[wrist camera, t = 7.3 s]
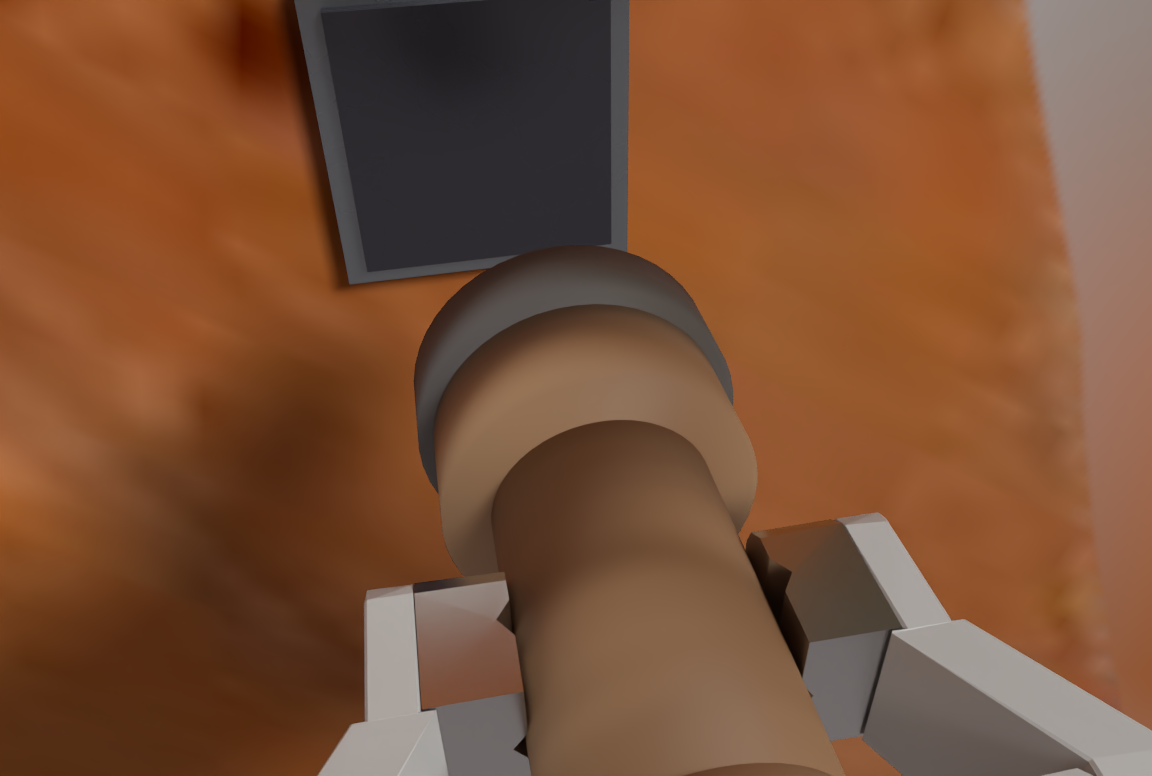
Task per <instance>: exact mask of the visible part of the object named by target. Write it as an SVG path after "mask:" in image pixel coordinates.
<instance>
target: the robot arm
mask: <svg viewBox="0 0 1152 776" xmlns="http://www.w3.org/2000/svg"><path fill="white" fill-rule="evenodd" d="M745 551H746V553H747V555H748V558H749V560H750V562H751V564H752V567H753V569H754V571H755V573H756V576H757V578H758V580H759V582H760V585H761V587H762V589H763V591H764V594H765V596H766V598H767V600H768V603H769V605H770V607H771V609H772V612H773V614H774V616H775V618H776V621H777V623H778V625H779V627H780V629H781V632H782V634H783V636H784V638H785V641H786V643H787V645H788V647H789V650H790V652H791V654H792V656H793V659H794V661H795V663H796V665H797V668H798V670H799V672H800V674H801V677H802V679H803V681H804V683H805V686H806V688H807V690H808V692H809V695H810V697H811V699H812V701H813V704H814V706H815V708H816V710H817V713H818V715H819V717H820V719H821V722H822V724H823V726H824V728H825V731H826V733H827V735H828V737H829V740H830V741H833V740H839V739H846V738H852V737H858V736H863V738H862V740H863V741H864V742H865V743H866V744H868V745H869V746H870V747H871V748H872V749H873V750H874V751H876V752H877V753H878V754H879V755H880V756H881V757H882V758H884V759H885V760H886V761H887V762H888V763H889V764H890V765H892V766H893V767H894V768H895V769H896V770H897V771H898V772H900V773H901V774H902V775H903V776H1152V731H1151V730H1149V729H1148V728H1146V727H1144V726H1143V725H1141V724H1139V723H1138V722H1136V721H1134V720H1133V719H1131V718H1129V717H1128V716H1126V715H1124V714H1123V713H1121V712H1119V711H1118V710H1116V709H1114V708H1113V707H1111V706H1109V705H1107V704H1106V703H1104V702H1102V701H1101V700H1099V699H1097V698H1096V697H1094V696H1092V695H1091V694H1089V693H1087V692H1086V691H1084V690H1082V689H1081V688H1079V687H1077V686H1076V685H1074V684H1072V683H1071V682H1069V681H1067V680H1066V679H1064V678H1062V677H1061V676H1059V675H1057V674H1056V673H1054V672H1052V671H1051V670H1049V669H1047V668H1045V667H1044V666H1042V665H1040V664H1039V663H1037V662H1035V661H1034V660H1032V659H1030V658H1029V657H1027V656H1025V655H1024V654H1022V653H1020V652H1019V651H1017V650H1015V649H1014V648H1012V647H1010V646H1009V645H1007V644H1005V643H1004V642H1002V641H1000V640H999V639H997V638H995V637H994V636H992V635H990V634H989V633H987V632H985V631H984V630H982V629H980V628H978V627H977V626H975V625H973V624H972V623H970V622H968V621H967V620H965V619H961V620H953V621H952V620H951V619H950V617H949V616H948V614H947V613H946V611H945V610H944V608H943V606H942V605H941V603H940V602H939V600H938V599H937V597H936V596H935V594H934V592H933V591H932V589H931V588H930V586H929V585H928V583H927V582H926V580H925V578H924V577H923V575H922V574H921V572H920V571H919V569H918V567H917V566H916V564H915V563H914V561H913V560H912V558H911V557H910V555H909V553H908V552H907V550H906V549H905V547H904V546H903V544H902V543H901V541H900V539H899V538H898V536H897V535H896V533H895V532H894V530H893V529H892V527H891V525H890V524H889V522H888V521H887V519H886V518H885V517H884V516H882V515H881V514H879V513H878V512H877V513H870V514H864V515H858V516H851V517H845V518H839V519H835V520H831V519H830V520H824V521H818V522H811V523H805V524H799V525H793V526H787V527H781V528H775V529H769V530H763V531H757V532H751V534H750V536H749V538H748V539H747V543H746V550H745ZM364 673H365V721H364V722H359V723H354V724H350V726H349V727H348V729H347V731H346V732H345V734H344V735H343V737H342V738H341V740H340V741H339V743H338V744H337V746H336V747H335V749H334V750H333V752H332V753H331V755H330V756H329V758H328V759H327V761H326V762H325V764H324V765H323V767H322V768H321V770H320V771H319V773H318V775H317V776H531V771H530V765H529V759H528V752H527V746H526V740H525V736H526V735H527V734H528V726H527V717H526V708H525V698H524V690H523V683H522V677H521V670H520V664H519V657H518V651H517V644H516V638H515V635H514V634H513V629H512V620H511V611H510V602H509V596H508V590H507V584H506V578H505V573H504V572H499V573H491V574H483V575H476V576H468V577H460V578H452V579H444V580H437V581H429V582H421V583H414V584H410V585H403V586H396V587H388V588H381V589H373V590H367V592H366V597H365V601H364Z"/></svg>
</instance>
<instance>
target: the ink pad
mask: <svg viewBox="0 0 1152 776" xmlns="http://www.w3.org/2000/svg"><path fill="white" fill-rule="evenodd" d="M294 2H295V7H296V12H297V17H298V22H299V28H300V33H301V38H302V43H303V48H304V53H305V58H306V64H307V69H308V74H309V79H310V84H311V89H312V94H313V99H314V105H315V110H316V115H317V120H318V125H319V130H320V135H321V140H322V146H323V151H324V156H325V161H326V166H327V171H328V176H329V182H330V187H331V192H332V197H333V202H334V207H335V212H336V217H337V223H338V228H339V233H340V238H341V243H342V248H343V253H344V259H345V264H346V269H347V274H348V279H349V284H358V283H367V282H375V281H384V280H392V279H401V278H409V277H418V276H426V275H435V274H443V273H452V272H460V271H469V270H477V269H486V268H492V267H493V266H495V265H497V264H499V263H501V262H504V261H506V260H508V259H511V258H513V257H516V256H518V255H521V254H525V253H528V252H532V251H535V250H539V249H545V248H551V247H557V246H570V245H589V246H602V247H607V248H612V249H617V250H622V251H625V252H627V214H628V92H629V0H294Z"/></svg>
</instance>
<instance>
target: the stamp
mask: <svg viewBox="0 0 1152 776" xmlns="http://www.w3.org/2000/svg"><path fill="white" fill-rule="evenodd" d="M414 391H415V403H416V416H417V428H418V441H419V451H420V455H421V459H422V463H423V467H424V469H425V471H426V474H427V476H428V478H429V480H430V482H431V483H432V485H433V487H434V488H435V490H436V491H437V493H438V494H439V502H440V512H441V522H442V532H443V536H444V540H445V544H446V548H447V550H448V552H449V554H450V556H451V559H452V561H453V562H454V564H455V565H456V566H457V568H458V569H459V571H460V572H461V574H462V575H463V576H464V577H468V576H476V575H483V574H491V573H499V572H504V573H505V578H506V584H507V590H508V596H509V602H510V611H511V620H512V629H513V634H514V635H515V638H516V644H517V651H518V657H519V664H520V670H521V677H522V683H523V690H524V698H525V708H526V717H527V726H528V734H527V735H526V736H525V740H526V746H527V752H528V759H529V765H530V771H531V776H846V775H845V773H844V771H843V769H842V766H841V764H840V762H839V760H838V757H837V755H836V753H835V751H834V748H833V746H832V744H831V742H830V740H829V737H828V735H827V733H826V731H825V728H824V726H823V724H822V722H821V719H820V717H819V715H818V713H817V710H816V708H815V706H814V704H813V701H812V699H811V697H810V695H809V692H808V690H807V688H806V686H805V683H804V681H803V679H802V677H801V674H800V672H799V670H798V668H797V665H796V663H795V661H794V659H793V656H792V654H791V652H790V650H789V647H788V645H787V643H786V641H785V638H784V636H783V634H782V632H781V629H780V627H779V625H778V623H777V621H776V618H775V616H774V614H773V612H772V609H771V607H770V605H769V603H768V600H767V598H766V596H765V594H764V591H763V589H762V587H761V585H760V582H759V580H758V578H757V576H756V573H755V571H754V569H753V567H752V564H751V562H750V560H749V558H748V555H747V553H746V551H745V549H744V546H743V544H742V542H741V540H740V537H739V535H738V533H739V532H740V530H741V528H742V527H743V525H744V523H745V521H746V519H747V517H748V515H749V512H750V510H751V507H752V504H753V502H754V497H755V493H756V488H757V464H756V456H755V453H754V450H753V447H752V444H751V441H750V439H749V437H748V435H747V433H746V431H745V430H744V428H743V426H742V424H741V422H740V420H739V418H738V416H737V414H736V412H735V410H734V408H733V388H732V381H731V375H730V372H729V369H728V366H727V363H726V360H725V358H724V357H723V355H722V353H721V351H720V349H719V347H718V345H717V343H716V342H715V340H714V338H713V336H712V334H711V332H710V331H709V329H708V327H707V325H706V323H705V321H704V319H703V318H702V316H701V314H700V312H699V310H698V308H697V306H696V305H695V303H694V301H693V299H692V298H691V297H690V295H689V294H688V293H687V291H686V290H685V289H684V288H683V286H682V285H681V284H680V283H678V282H677V281H676V280H675V279H674V278H673V277H672V276H671V275H670V274H668V273H667V272H666V271H664V270H663V269H661V268H660V267H658V266H657V265H655V264H653V263H651V262H649V261H647V260H645V259H643V258H641V257H639V256H636V255H633V254H630V253H627V252H625V251H622V250H617V249H612V248H607V247H602V246H589V245H570V246H557V247H551V248H545V249H539V250H535V251H532V252H528V253H525V254H521V255H518V256H516V257H513V258H511V259H508V260H506V261H504V262H501V263H499V264H497V265H495V266H493V267H492V268H490V269H488V270H486V271H485V272H483V273H481V274H479V275H478V276H477V277H475V278H474V279H473V280H471V281H470V282H468V283H467V284H466V285H464V286H463V287H462V288H461V289H460V290H459V291H458V292H457V293H456V294H455V295H454V296H453V297H451V298H450V299H449V300H448V301H447V303H446V304H445V305H444V306H443V308H442V309H441V310H440V311H439V313H438V314H437V315H436V317H435V318H434V320H433V322H432V323H431V325H430V327H429V328H428V330H427V331H426V334H425V336H424V339H423V341H422V343H421V346H420V348H419V352H418V356H417V360H416V364H415V374H414Z"/></svg>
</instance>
